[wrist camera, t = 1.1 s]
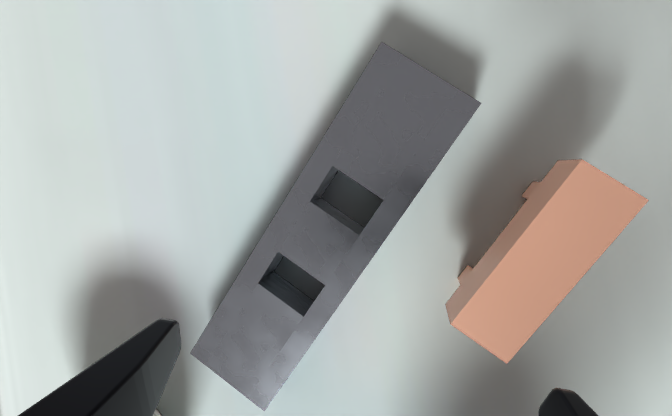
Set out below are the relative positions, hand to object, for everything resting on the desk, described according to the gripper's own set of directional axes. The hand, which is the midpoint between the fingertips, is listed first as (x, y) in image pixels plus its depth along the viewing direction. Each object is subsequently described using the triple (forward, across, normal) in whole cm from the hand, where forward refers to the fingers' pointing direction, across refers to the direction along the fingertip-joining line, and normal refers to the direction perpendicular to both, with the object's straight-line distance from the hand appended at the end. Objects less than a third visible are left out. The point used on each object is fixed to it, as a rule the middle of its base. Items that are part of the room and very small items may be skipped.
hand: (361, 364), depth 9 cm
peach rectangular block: (+12, -9, +3) cm, 16 cm away
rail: (+13, +2, +6) cm, 15 cm away
